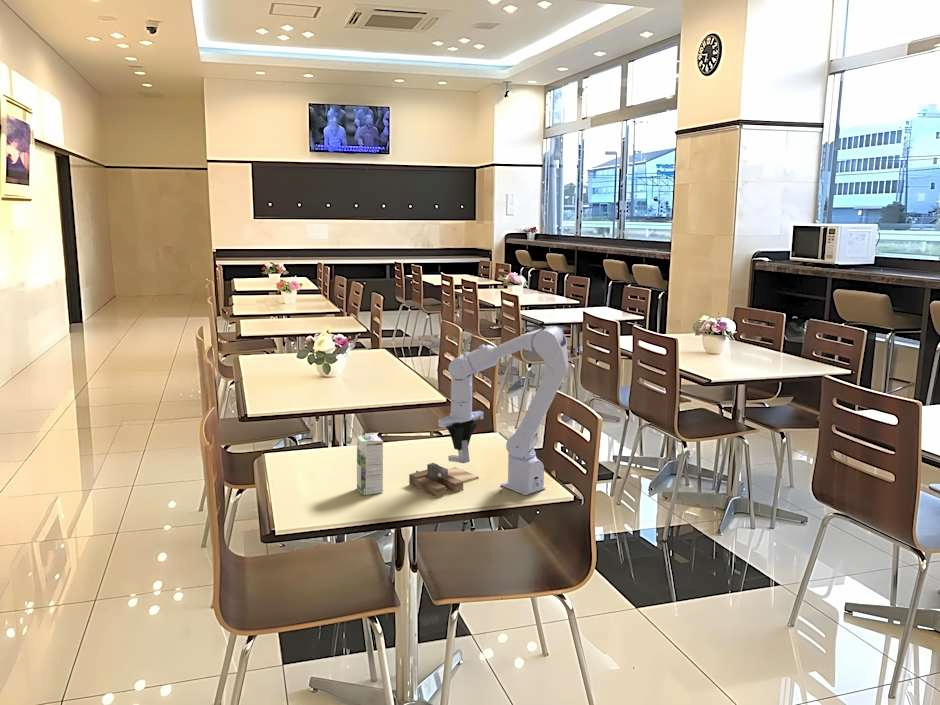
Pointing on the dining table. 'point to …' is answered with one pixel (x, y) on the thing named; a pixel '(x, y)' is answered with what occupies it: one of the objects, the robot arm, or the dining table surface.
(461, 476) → the cork mat
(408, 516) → the dining table surface
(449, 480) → the vise
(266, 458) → the dining table surface
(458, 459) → the grey l-shaped block
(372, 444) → the drink carton
